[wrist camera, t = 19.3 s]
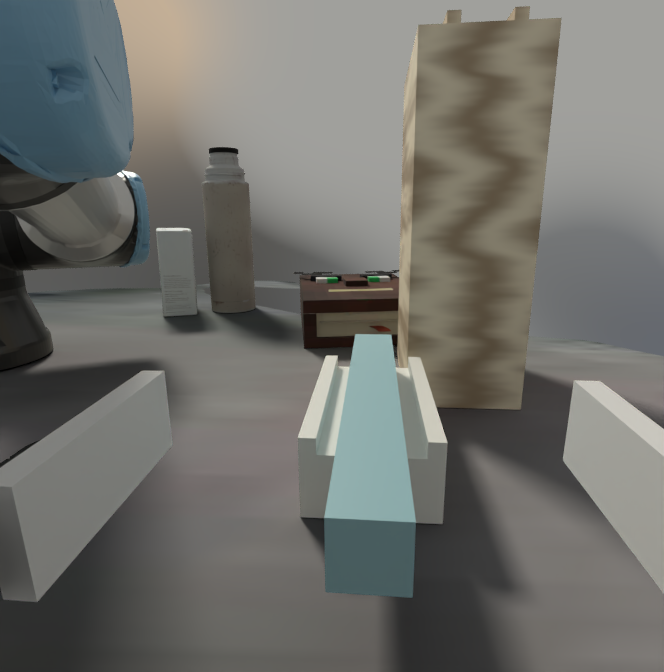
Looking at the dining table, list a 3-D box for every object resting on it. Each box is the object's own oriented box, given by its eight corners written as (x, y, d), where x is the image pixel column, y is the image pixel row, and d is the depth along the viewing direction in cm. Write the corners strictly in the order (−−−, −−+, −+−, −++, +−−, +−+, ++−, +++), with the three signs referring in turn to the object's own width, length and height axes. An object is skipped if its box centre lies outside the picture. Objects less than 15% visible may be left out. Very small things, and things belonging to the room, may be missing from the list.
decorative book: (293, 297, 55) (292, 269, 84) (295, 357, 57) (294, 309, 86) (448, 293, 56) (395, 267, 85) (445, 351, 58) (394, 306, 87)
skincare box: (163, 308, 85) (154, 227, 82) (196, 306, 87) (189, 227, 84) (163, 317, 78) (153, 229, 74) (199, 314, 80) (192, 228, 76)
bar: (325, 591, 16) (324, 517, 15) (355, 367, 39) (355, 334, 38) (412, 597, 15) (415, 522, 15) (390, 368, 39) (391, 334, 38)
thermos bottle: (203, 308, 85) (190, 148, 78) (240, 303, 90) (230, 152, 83) (226, 315, 79) (214, 143, 72) (264, 308, 85) (255, 147, 77)
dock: (300, 517, 26) (297, 437, 25) (326, 409, 40) (326, 355, 39) (442, 524, 25) (447, 442, 24) (417, 411, 40) (420, 357, 38)
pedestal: (405, 406, 41) (418, 9, 33) (397, 354, 56) (404, 74, 48) (520, 409, 40) (563, 1, 32) (479, 355, 55) (501, 71, 47)
